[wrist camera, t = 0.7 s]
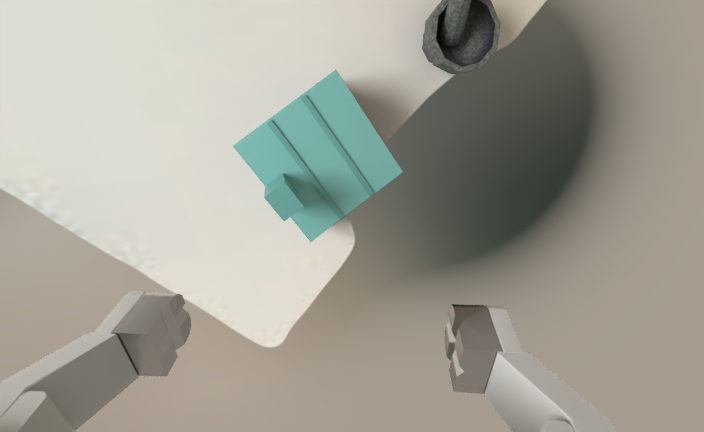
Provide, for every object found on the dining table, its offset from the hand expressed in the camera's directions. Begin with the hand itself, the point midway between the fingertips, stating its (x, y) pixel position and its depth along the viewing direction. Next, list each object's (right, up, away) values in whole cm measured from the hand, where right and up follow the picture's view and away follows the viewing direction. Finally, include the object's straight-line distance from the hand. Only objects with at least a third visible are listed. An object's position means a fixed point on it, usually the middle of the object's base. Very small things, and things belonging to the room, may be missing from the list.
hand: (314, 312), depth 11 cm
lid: (-2, +10, +32) cm, 33 cm away
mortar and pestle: (+14, +29, +42) cm, 52 cm away
